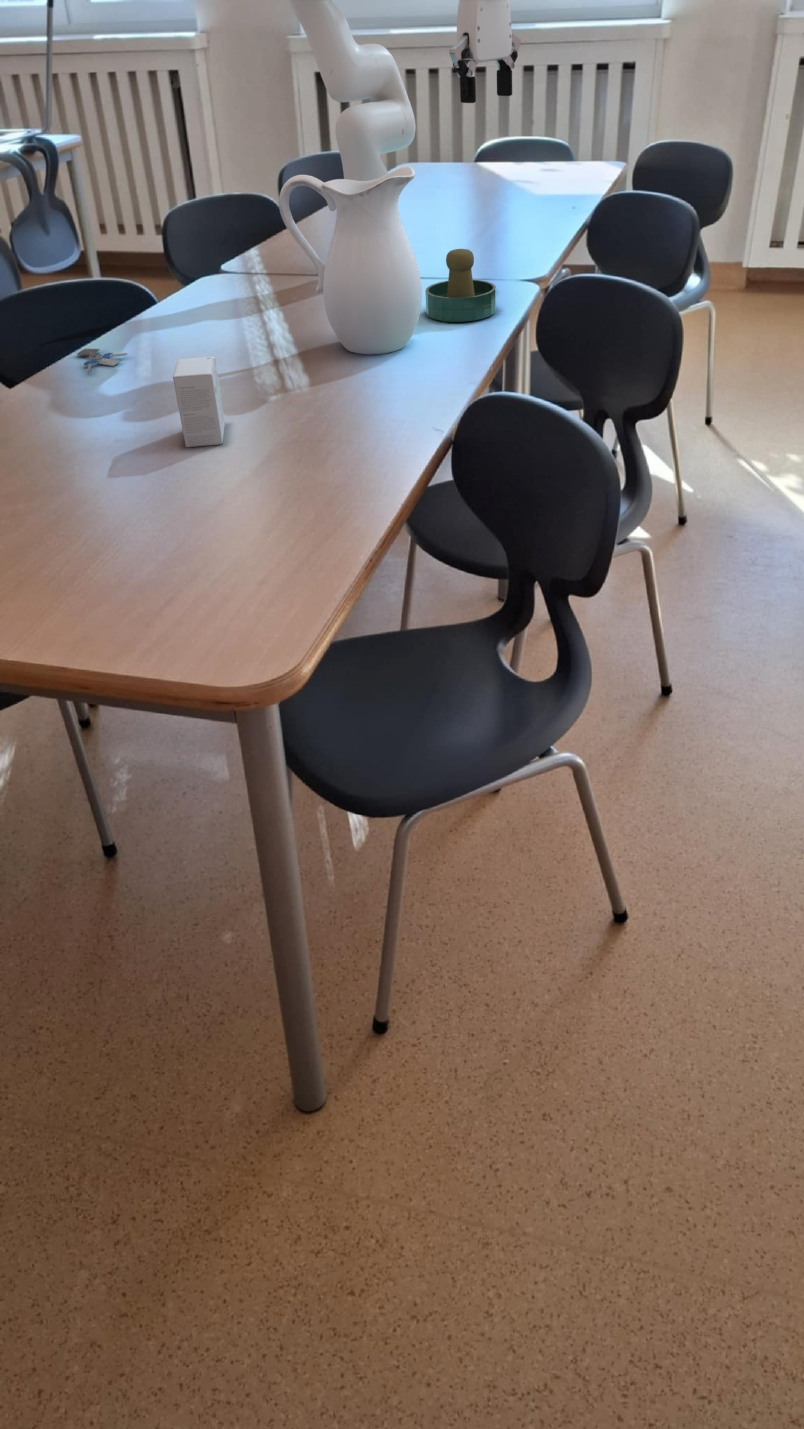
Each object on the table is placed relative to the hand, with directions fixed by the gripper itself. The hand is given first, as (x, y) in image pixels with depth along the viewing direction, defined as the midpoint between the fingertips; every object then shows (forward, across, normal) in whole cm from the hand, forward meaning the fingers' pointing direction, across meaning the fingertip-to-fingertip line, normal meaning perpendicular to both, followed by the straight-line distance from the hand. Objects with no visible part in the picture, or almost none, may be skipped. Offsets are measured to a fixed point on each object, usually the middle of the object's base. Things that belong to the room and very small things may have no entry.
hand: (486, 99), depth 191 cm
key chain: (+34, +70, -30) cm, 83 cm away
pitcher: (+34, +37, +1) cm, 50 cm away
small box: (+34, +80, +16) cm, 89 cm away
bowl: (+34, +12, +4) cm, 36 cm away
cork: (+34, +12, +4) cm, 36 cm away
